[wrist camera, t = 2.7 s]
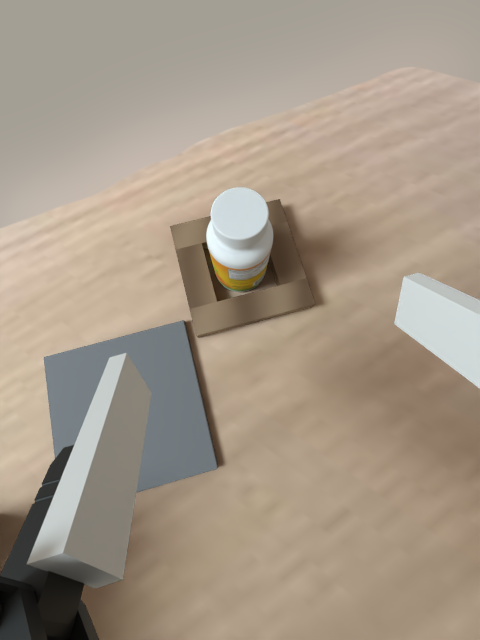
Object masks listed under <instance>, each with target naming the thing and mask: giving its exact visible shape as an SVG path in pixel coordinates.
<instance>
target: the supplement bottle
mask: <svg viewBox="0 0 480 640" xmlns="http://www.w3.org/2000/svg"><path fill="white" fill-rule="evenodd" d="M268 217H269V210H268V206H267V203H266V202H265V200H264V199H263V197H262V196H261V195H260V194H258V193H257V192H255V191H254V190H251V189H248V188H243V187H237V188H232V189H228V190H226V191H224V192H223V193H221V194H220V195H219V196H218V197H217V198H216V199H215V201H214V203H213V205H212V208H211V221H210V222H209V225H208V228H207V233H206V240H207V245H208V249H209V253H210V256H211V260H212V263H213V267H214V270H215V274H216V276H217V279H218V280H219V282H220V283H221V284H222V285H223V286H224V287H225V288H227V289H229V290H231V291H235V292H246V291H249V290H252V289H254V288H255V287H256V286H258V285H259V284H260V283H261V281H262V280H263V278H264V275H265V273H266V269H267V265H268V260H269V256H270V252H271V249H272V244H273V229H272V225H271V223H270V221H269V219H268Z"/></svg>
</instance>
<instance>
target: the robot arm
mask: <svg viewBox="0 0 480 640" xmlns="http://www.w3.org/2000/svg"><path fill="white" fill-rule="evenodd" d="M394 324H395V325H396V326H398V327H399V328H400V329H402V330H403V331H404V332H406V333H407V334H408V335H410V336H411V337H412V338H414V339H415V340H416V341H417V342H419V343H420V344H421V345H423V346H424V347H425V348H427V349H428V350H429V351H431V352H432V353H433V354H435V355H436V356H437V357H439V358H440V359H441V360H443V361H444V362H445V363H447V364H448V365H449V366H451V367H452V368H453V369H455V370H456V371H457V372H459V373H460V374H461V375H462V376H464V377H465V378H466V379H468V380H469V381H470V382H472V383H473V384H474V385H476V386H477V387H478V388H480V300H478V299H476V298H474V297H472V296H469V295H467V294H465V293H463V292H461V291H458V290H456V289H454V288H452V287H450V286H447V285H445V284H443V283H441V282H439V281H436V280H434V279H432V278H430V277H428V276H426V275H423V274H421V273H416V274H412V275H408V276H405V277H404V279H403V284H402V288H401V293H400V298H399V303H398V308H397V313H396V318H395V323H394ZM150 400H151V391H150V389H149V388H148V386H147V385H146V383H145V381H144V380H143V378H142V376H141V375H140V373H139V372H138V370H137V368H136V367H135V365H134V364H133V362H132V360H131V359H130V357H129V356H128V354H127V353H124V354H120V355H117V356H113V357H109V360H108V362H107V365H106V367H105V370H104V372H103V375H102V377H101V380H100V382H99V385H98V387H97V390H96V392H95V395H94V397H93V400H92V402H91V405H90V407H89V410H88V412H87V415H86V417H85V420H84V422H83V425H82V427H81V430H80V432H79V435H78V437H77V440H76V442H75V445H71V446H68V447H64V448H63V449H62V450H61V452H60V453H59V454H58V456H57V457H56V458H55V460H54V461H53V462H52V464H51V465H50V467H49V469H48V471H47V474H46V476H45V478H44V480H43V482H42V487H41V488H40V489H39V491H38V493H37V496H36V498H35V503H34V504H32V507H31V509H30V511H29V513H28V515H27V518H26V520H25V522H24V524H23V526H22V529H21V531H20V533H19V535H18V537H17V540H16V542H15V544H14V546H13V548H12V551H11V553H10V555H9V557H8V559H7V562H6V564H5V566H4V568H3V570H2V572H1V574H0V640H99V638H98V636H97V633H96V631H95V628H94V626H93V623H92V621H91V618H90V616H89V613H88V611H87V608H86V606H85V604H84V603H83V602H82V600H81V599H80V598H81V594H82V590H83V586H84V585H87V586H90V587H93V588H99V587H102V586H105V585H108V584H111V583H114V582H117V581H121V580H123V577H124V570H125V564H126V557H127V551H128V544H129V537H130V531H131V524H132V518H133V511H134V505H135V498H136V492H137V485H138V478H139V472H140V465H141V459H142V452H143V446H144V439H145V433H146V426H147V419H148V413H149V406H150Z"/></svg>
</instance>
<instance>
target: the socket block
mask: <svg viewBox="0 0 480 640" xmlns="http://www.w3.org/2000/svg"><path fill="white" fill-rule="evenodd" d="M266 203H267V206H268V210H269V217H268V219H269V221H270V223H271V225H272V229H273V244H272V249H271V252H270V256H269V262H270V265H271V268H272V271H273V275H274V278H275V281H276V284H277V286H275V287H271V288H268V289H264V290H260V291H256V292H252V293H249V294H245V295H241V296H237V297H233V298H229V299H226V300H222V301H218V302H217V298H216V295H215V291H214V287H213V283H212V279H211V275H210V272H209V268H208V264H207V260H206V256H205V252H204V249H208V245H207V240H206V233H207V228H208V225H209V222H210V221H211V216H209V217H205V218H201V219H197V220H193V221H189V222H185V223H181V224H177V225H173V226H170V228H171V232H172V236H173V241H174V245H175V249H176V253H177V257H178V262H179V266H180V270H181V274H182V279H183V283H184V287H185V291H186V295H187V300H188V304H189V308H190V312H191V317H192V321H193V325H194V329H195V333H196V336H197V337H198V338H199V337H203V336H207V335H210V334H214V333H218V332H222V331H225V330H229V329H233V328H237V327H240V326H244V325H248V324H251V323H255V322H259V321H263V320H266V319H270V318H274V317H278V316H281V315H285V314H289V313H292V312H296V311H300V310H304V309H307V308H311V307H312V306H314V305H315V301H314V298H313V295H312V292H311V289H310V286H309V284H308V281H307V278H306V275H305V272H304V269H303V266H302V263H301V260H300V257H299V254H298V251H297V248H296V245H295V243H294V240H293V237H292V234H291V231H290V228H289V225H288V222H287V219H286V216H285V213H284V210H283V207H282V205H281V202H280V199H278V200H274V201H270V202H266Z"/></svg>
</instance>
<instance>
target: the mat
mask: <svg viewBox="0 0 480 640" xmlns="http://www.w3.org/2000/svg"><path fill="white" fill-rule="evenodd" d="M124 353H127V354H128V356H129V357H130V359H131V360H132V362H133V364H134V365H135V367H136V368H137V370H138V372H139V373H140V375H141V376H142V378H143V380H144V381H145V383H146V385H147V386H148V388H149V389H150V391H151V400H150V406H149V413H148V419H147V426H146V433H145V439H144V446H143V452H142V459H141V465H140V472H139V478H138V485H137V492H139V491H143V490H146V489H150V488H153V487H156V486H160V485H163V484H167V483H170V482H173V481H177V480H180V479H184V478H187V477H191V476H194V475H197V474H201V473H204V472H208V471H211V470H214V469H217V468H218V464H217V459H216V455H215V451H214V446H213V442H212V438H211V433H210V429H209V425H208V420H207V416H206V412H205V407H204V403H203V399H202V394H201V390H200V386H199V381H198V377H197V373H196V368H195V364H194V360H193V355H192V351H191V346H190V342H189V338H188V333H187V329H186V325H185V321H179V322H175V323H172V324H168V325H164V326H160V327H156V328H153V329H149V330H145V331H141V332H138V333H134V334H130V335H126V336H122V337H119V338H115V339H111V340H107V341H104V342H100V343H96V344H92V345H88V346H85V347H81V348H77V349H73V350H69V351H66V352H62V353H58V354H54V355H51V356H47V357H44V364H45V373H46V382H47V391H48V400H49V409H50V418H51V427H52V436H53V444H54V453H55V458H56V457H57V456H58V454H59V453H60V452H61V450H62V449H63V448H64V447H68V446H71V445H75V442H76V440H77V437H78V435H79V432H80V430H81V427H82V425H83V422H84V420H85V417H86V415H87V412H88V410H89V407H90V405H91V402H92V400H93V397H94V395H95V392H96V390H97V387H98V385H99V382H100V380H101V377H102V375H103V372H104V370H105V367H106V365H107V362H108V360H109V357H113V356H117V355H120V354H124Z"/></svg>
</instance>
